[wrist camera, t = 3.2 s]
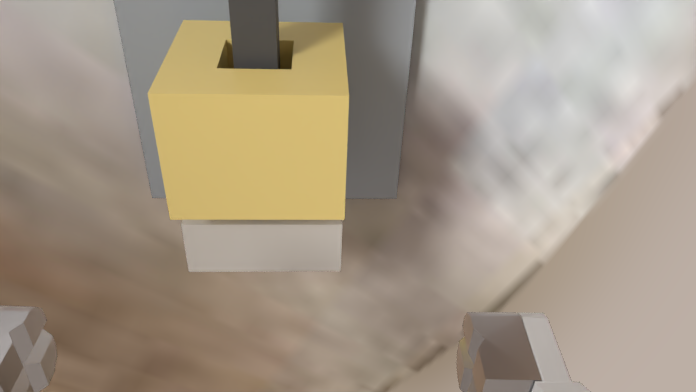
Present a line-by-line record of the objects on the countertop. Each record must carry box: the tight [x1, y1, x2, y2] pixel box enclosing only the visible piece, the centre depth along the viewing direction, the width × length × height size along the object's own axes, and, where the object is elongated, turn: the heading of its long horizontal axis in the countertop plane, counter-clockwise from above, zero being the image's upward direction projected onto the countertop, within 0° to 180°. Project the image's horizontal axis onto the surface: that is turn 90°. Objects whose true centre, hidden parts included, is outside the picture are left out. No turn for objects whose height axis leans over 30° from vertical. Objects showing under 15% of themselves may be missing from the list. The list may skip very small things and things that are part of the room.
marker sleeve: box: [148, 20, 349, 220], centre depth 18 cm, size 5×4×5 cm
